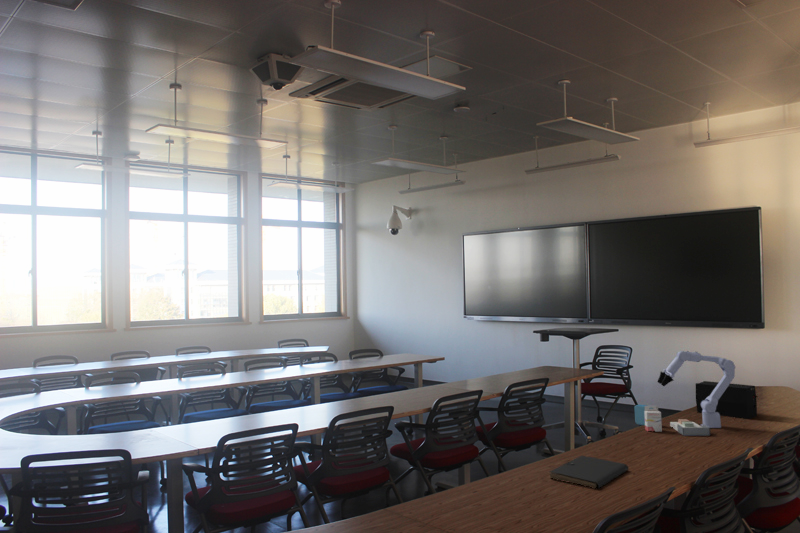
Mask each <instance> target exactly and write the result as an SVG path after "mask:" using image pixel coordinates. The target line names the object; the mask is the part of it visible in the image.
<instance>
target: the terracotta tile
mask: <svg viewBox="0 0 800 533" xmlns="http://www.w3.org/2000/svg"><path fill="white" fill-rule="evenodd" d="M677 422H678V423H680V424H682V422H691V421H690V420H688V419H686V418H684V419H683V418H679V419H678V420H677Z"/></svg>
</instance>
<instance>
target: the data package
mask: <svg viewBox="0 0 800 533" xmlns="http://www.w3.org/2000/svg"><path fill="white" fill-rule="evenodd" d="M645 406H649V405H646V404H636V405H634V407H633V408H634V421H635V424H637V425H641V426H645V415H644V411H645ZM649 409H654V408H652V407H651V408H649Z"/></svg>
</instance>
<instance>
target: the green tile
mask: <svg viewBox="0 0 800 533" xmlns="http://www.w3.org/2000/svg"><path fill="white" fill-rule="evenodd" d="M692 422H693V421H690V422H682V425H683V426H685V427H694V423H692Z"/></svg>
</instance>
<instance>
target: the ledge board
mask: <svg viewBox="0 0 800 533" xmlns="http://www.w3.org/2000/svg"><path fill="white" fill-rule="evenodd" d="M691 422H692V423H694V427H685V426H683V425H682V424H680V423H678V421H670V422H669V426H670V427H671V428H672V427H673V428H672V429H674V430H675V431H677V432H678V428H677V424H679V425H680V426H682V427H683V428H703V426H701V425H699V424H698V423H697V422H694V421H691Z"/></svg>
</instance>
